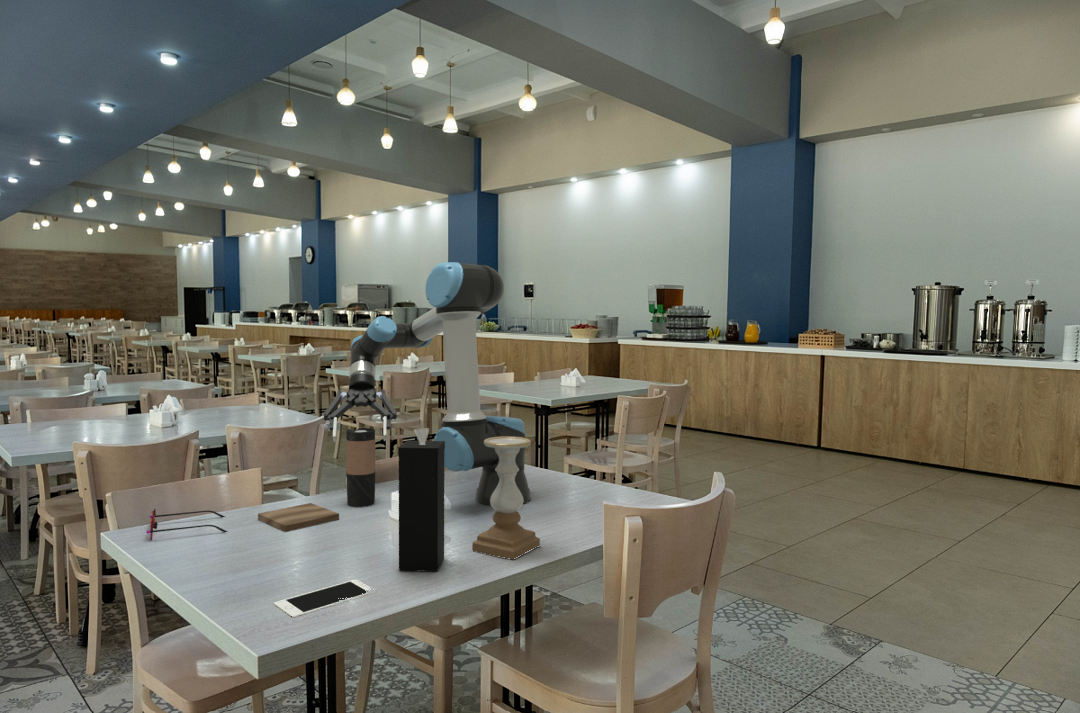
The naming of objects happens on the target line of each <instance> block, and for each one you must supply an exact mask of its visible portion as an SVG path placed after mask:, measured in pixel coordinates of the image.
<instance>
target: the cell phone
mask: <svg viewBox="0 0 1080 713" xmlns="http://www.w3.org/2000/svg"><path fill="white" fill-rule="evenodd" d="M371 588H372V587H371ZM371 588H370V586H369V585H367V584H365V583H363V582H361V581H360V580H359V579H351V580H347V581H343V582H341V583H337V584H333V585H330V586H327V587H323V588H319V589H317V590H316V589H315V590H313V591H309V592H306V593H303V594H299V595H296V596H295V595H294V596H292V597H287V598H284V599H281V600H278V601H274V602H273V605H274V606H275V607H276V608H278V609H279V610H280V611H282V612H283V611H284V612H283V613H285V612H286V613H287V614H286V613H285V614H286V615H288V614H289V615H290V616H292V617H291V618H293V617H294V618H296V617H295V616H298V615H301V614H304V613H308V612H311V611H314V610H317V609H320V608H323V606H324V607H325V606H326V607H327V606H329V605H333V604H334V603H338V602H340V601H339V600H345V598H346V597H347V598H351V597H352V598H353V597H357V596H361V595H364V594H365V593H366V591H367V590H369V589H370V590H371ZM374 589H375V588H373V590H374ZM365 590H366V591H365ZM370 590H369V591H370ZM367 592H368V591H367ZM362 593H363V594H362ZM366 594H367V593H366ZM338 598H339V599H338ZM340 598H341V599H340ZM342 598H344V599H342ZM347 598H346V600H347ZM341 602H342V601H341ZM327 608H328V607H327ZM317 611H318V610H317ZM314 612H315V611H314ZM311 613H312V612H311ZM308 614H309V613H308ZM289 615H288V616H289ZM304 615H305V614H304ZM290 616H289V617H290ZM301 616H302V615H301ZM298 617H299V616H298Z"/></svg>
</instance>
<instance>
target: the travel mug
mask: <svg viewBox="0 0 1080 713" xmlns="http://www.w3.org/2000/svg"><path fill="white" fill-rule="evenodd" d="M345 435H346V440H345V441H346V442H345V444H346V446H345V448H346V449H345V450H346V451H345V453H346V456H345V465H346V466H345V471H346V472H345V473H346V474H345V475H346V476H345V477H346V478H345V479H346V501H347V506H349V507H353V508H364V507H363V506H366V507H369V505H370V506H373V505H374V504H375V503H374V502H375V500H376V499H375V498H376V475H377V474H376V471H377V470H376V468H377V467H376V430H375V428H371V427H358V428H357V429H355V430H354V429H353V430H351V429H350V428H349V429H347V430H346V433H345ZM372 504H373V505H372Z"/></svg>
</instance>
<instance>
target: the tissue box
mask: <svg viewBox="0 0 1080 713" xmlns="http://www.w3.org/2000/svg"><path fill="white" fill-rule="evenodd" d="M413 431H414V434H415V436H416V438H417V440H406V441H405V442H404V443H402V444H401V445H399V447H398V453H397V455H398V571H399V570H400V571H403V570H404V571H405V570H409V571H408V572H410V570H411V572H418V571H417V570H421V571H420V572H438V571H439V570H438V569H440V568H439V567H441V566H442V563H443V562H444V559H445V467H444V449H445V441H434V440H427V439H428V436H429V432H430V428H429V427H428V428H427V427H426V428H425V427H424V428H415V429H413ZM413 570H414V571H413ZM422 570H424V571H422ZM425 570H426V571H425Z"/></svg>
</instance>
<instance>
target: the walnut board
mask: <svg viewBox="0 0 1080 713" xmlns="http://www.w3.org/2000/svg"><path fill="white" fill-rule="evenodd" d="M257 520H258V521H260V522H263V523H265V524H267V525H270V526H271V527H273V528H276V529H278V530H280V531H283V532H284V533H286V532H290V531H291V530H292V531H295V530H299V529H303V528H304V529H305V528H309V527H312V526H318V525H321V524H325V523H330V522H334V521H338V520H340V513H338V512H336V511H333V510H332V509H328V508H325V507H322V506H320V505H317V504H314V503H312V502H309V503H305V504H299V505H294V506H289V507H284V508H279V509H274V510H270V511H269V510H268V511H264V512H260V513H257Z"/></svg>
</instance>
